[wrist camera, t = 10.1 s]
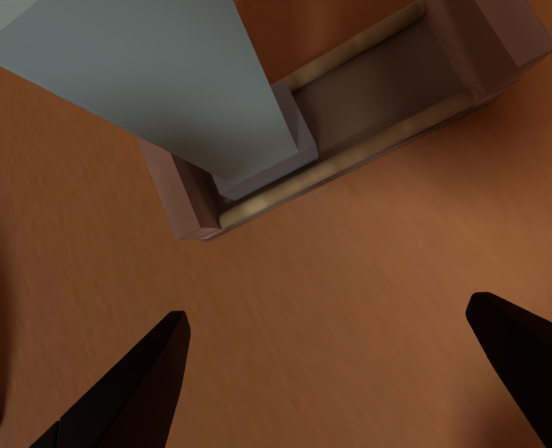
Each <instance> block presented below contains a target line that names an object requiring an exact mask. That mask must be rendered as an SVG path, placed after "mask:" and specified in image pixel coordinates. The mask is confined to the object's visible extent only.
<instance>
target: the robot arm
mask: <svg viewBox="0 0 552 448" xmlns="http://www.w3.org/2000/svg"><path fill="white" fill-rule="evenodd" d="M466 318H467V320H468V322H469V324H470V326H471V328H472V330H473V332H474V333H475V335H476V337H477V339H478V341H479V343H480V345H481V346H482V348H483V350H484V352H485V354H486V356H487V357H488V359H489V361H490V363H491V365H492V366H493V368H494V370H495V371H496V373H497V374H498V376H499V377H500V379H501V380H502V382H503V383H504V385H505V387H506V388H507V390H508V391H509V393H510V394H511V396H512V397H513V399H514V400H515V402H516V403H517V405H518V406H519V408H520V409H521V411H522V412H523V414H524V415H525V417H526V418H527V420H528V421H529V423H530V424H531V426H532V427H533V429H534V430H535V432H536V433H537V435H538V436H539V438H540V439H541V441H542V442H543V444H544V446H545V447H546V448H552V322H550V321H548V320H546V319H544V318H542V317H540V316H538V315H535V314H533V313H531V312H529V311H527V310H525V309H523V308H521V307H519V306H517V305H515V304H513V303H511V302H509V301H507V300H505V299H503V298H501V297H499V296H497V295H494V294H492V293H490V292H476V293H474V294H473V295H472V296H471V299H470V301H469V304H468V306H467V309H466ZM190 336H191V329H190V325H189V322H188V319H187V315H186V313H185V311H183V310H181V311H171V312H170V313H168V314H167V315H166V316H165V317H164V318H163V319H162V320H161V321H160V322H159V323H158V324H157V325H156V326H155V327H154V328H153V329H152V330H151V331H150V332H149V333H148V334H147V335H146V336H144V337H143V338H142V339H141V340H140V341H139V342H138V343H137V344H136V345H135V346H134V347H133V348H132V349H131V350H130V351H129V352H128V353H127V354H126V355H125V356H124V357H123V358H122V359H121V360H120V361H119V362H118V363H116V364H115V365H114V366H113V367H112V368H111V369H110V370H109V371H108V372H107V373H106V374H105V375H104V376H103V377H102V378H101V379H100V380H99V381H98V382H97V383H96V384H95V385H94V386H93V387H92V388H91V389H90V390H88V391H87V392H86V393H85V394H84V395H83V396H82V397H81V398H80V399H79V400H78V401H77V402H76V403H75V404H74V405H73V406H72V407H71V408H70V409H69V410H68V411H67V412H66V413H65V414H64V415H63V416H61V418H60V421H56V422H55V423H54V424H53V425H52V426H51V427H50V428H49V429H48V430H47V431H46V432H45V433H44V434H43V435H42V436H41V437H40V438H38V439H37V440H36V441H35V442H34V443H33V444H32V445H31V446H30V447H29V448H165V445H166V442H167V438H168V435H169V431H170V427H171V424H172V420H173V417H174V413H175V409H176V406H177V402H178V399H179V395H180V391H181V387H182V382H183V377H184V371H185V365H186V360H187V354H188V348H189V342H190Z"/></svg>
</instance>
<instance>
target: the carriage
mask: <svg viewBox="0 0 552 448" xmlns="http://www.w3.org/2000/svg"><path fill="white" fill-rule="evenodd" d="M0 66H1V67H3V68H5V69H7V70H9V71H11V72H13V73H15V74H17V75H19V76H21V77H23V78H25V79H27V80H29V81H31V82H32V83H34V84H36V85H38V86H40V87H42V88H44V89H46V90H48V91H50V92H52V93H54V94H56V95H58V96H60V97H62V98H64V99H66V100H68V101H70V102H72V103H74V104H76V105H78V106H80V107H82V108H84V109H86V110H87V111H89V112H91V113H93V114H95V115H97V116H99V117H101V118H103V119H105V120H107V121H109V122H111V123H113V124H115V125H117V126H119V127H121V128H123V129H125V130H127V131H129V132H131V133H133V134H135V135H137V136H139V137H141V138H142V139H144V140H146V141H148V142H150V143H152V144H154V145H156V146H158V147H160V148H162V149H164V150H166V151H168V152H170V153H172V154H174V155H176V156H178V157H180V158H182V159H184V160H186V161H188V162H190V163H192V164H194V165H196V166H198V167H199V168H201V169H203V170H205V171H207V172H209V173H211V174H212V177H213V179H214V182H215V184H216V186H217V189H218V191H219V193H220V195H222V196H225V197H228V198H230V199H233V200H238V199H240V198H242V197H244V196H246V195H248V194H250V193H252V192H254V191H256V190H258V189H260V188H262V187H264V186H266V185H268V184H270V183H272V182H273V181H275V180H277V179H279V178H281V177H283V176H285V175H287V174H289V173H291V172H293V171H295V170H297V169H299V168H301V167H303V166H305V165H307V164H309V163H311V162H313V161H314V160H316V159H318V158H319V155H318V150H317V145H316V143H315V141H314V139H313V137H312V135H311V133H310V131H309V129H308V127H307V125H306V123H305V121H304V118H303V116H302V114H301V112H300V110H299V108H298V106H297V104H296V102H295V100H294V98H293V96H292V94H291V92H290V90H289V88H288V86H287V84H286V82H285V80H284V79H282V80H281V81H279V82H277V83H275V84H274V85H272V86H270V85H269V83H268V80H267V78H266V76H265V73H264V71H263V69H262V66H261V64H260V62H259V60H258V57H257V55H256V53H255V50H254V48H253V46H252V43H251V41H250V39H249V36H248V34H247V32H246V30H245V27H244V25H243V23H242V20H241V18H240V16H239V13H238V11H237V9H236V6H235V4H234V2H233V0H0Z"/></svg>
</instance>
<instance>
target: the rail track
mask: <svg viewBox="0 0 552 448" xmlns="http://www.w3.org/2000/svg"><path fill="white" fill-rule="evenodd" d="M551 52H552V38H551V36H550V35H549V33H548V32H547V30H546V29H545V27H544V26H543V24H542V23H541V21H540V20H539V18H538V17H537V15H536V14H535V13H534V11H533V10H532V8H531V7H530V5H529V4H528V2H527V1H526V0H415V1H413V2H411V3H410V4H408V5H406V6H405V7H403V8H401V9H400V10H398V11H396V12H394V13H393V14H391V15H389V16H388V17H386V18H384V19H383V20H381V21H379V22H377V23H376V24H374V25H372V26H371V27H369V28H367V29H366V30H364V31H362V32H360V33H359V34H357V35H355V36H354V37H352V38H350V39H349V40H347V41H345V42H343V43H342V44H340V45H338V46H337V47H335V48H333V49H332V50H330V51H328V52H326V53H325V54H323V55H321V56H320V57H318V58H316V59H315V60H313V61H311V62H309V63H308V64H306V65H304V66H303V67H301V68H299V69H297V70H296V71H294V72H292V73H291V74H289V75H287V76H286V77H284V78H282V79H284V80H285V82H286V84H287V86H288V88H289V90H290V92H291V94H292V96H293V98H294V100H295V102H296V104H297V106H298V108H299V110H300V112H301V114H302V116H303V118H304V121H305V123H306V125H307V127H308V129H309V131H310V133H311V135H312V137H313V139H314V141H315V143H316V145H317V150H318V155H319V158H318V159H316V160H314V161H313V162H311V163H309V164H307V165H305V166H303V167H301V168H299V169H297V170H295V171H293V172H291V173H289V174H287V175H285V176H283V177H281V178H279V179H277V180H275V181H273V182H272V183H270V184H268V185H266V186H264V187H262V188H260V189H258V190H256V191H254V192H252V193H250V194H248V195H246V196H244V197H242V198H240V199H238V200H233V199H230V198H228V197H225V196H222V195H220V193H219V191H218V189H217V186H216V184H215V182H214V179H213V177H212V174H211V173H209V172H207V171H205V170H203V169H201V168H199V167H198V166H196V165H194V164H192V163H190V162H188V161H186V160H184V159H182V158H180V157H178V156H176V155H174V154H172V153H170V152H168V151H166V150H164V149H162V148H160V147H158V146H156V145H154V144H152V143H150V142H148V141H146V140H144V139H142V138H141V137H139V136H137V135H136V137H137V140H138V142H139V145H140V147H141V150H142V152H143V155H144V158H145V160H146V163H147V165H148V168H149V170H150V173H151V176H152V178H153V181H154V183H155V186H156V188H157V191H158V194H159V196H160V199H161V201H162V204H163V206H164V209H165V212H166V214H167V217H168V219H169V222H170V224H171V227H172V230H173V232H174V235H175V237H176V240H184V239H201V241H210V240H212V239H214V238H216V237H218V236H220V235H222V234H224V233H226V232H228V231H230V230H232V229H234V228H236V227H238V226H240V225H243V224H245V223H247V222H249V221H251V220H253V219H255V218H257V217H259V216H261V215H263V214H265V213H267V212H269V211H271V210H273V209H275V208H277V207H279V206H281V205H283V204H285V203H287V202H289V201H291V200H293V199H295V198H297V197H300V196H302V195H304V194H306V193H308V192H310V191H312V190H314V189H316V188H318V187H320V186H322V185H324V184H326V183H328V182H330V181H332V180H334V179H336V178H338V177H340V176H342V175H344V174H346V173H348V172H350V171H352V170H354V169H357V168H359V167H361V166H363V165H365V164H367V163H369V162H371V161H373V160H375V159H377V158H379V157H381V156H383V155H385V154H387V153H389V152H391V151H393V150H395V149H397V148H399V147H401V146H403V145H405V144H407V143H409V142H412V141H414V140H416V139H418V138H420V137H422V136H424V135H426V134H428V133H430V132H432V131H434V130H436V129H438V128H440V127H442V126H444V125H446V124H448V123H450V122H452V121H454V120H456V119H458V118H460V117H462V116H464V115H466V114H469V113H471V112H473V111H475V110H477V109H479V108H481V107H483V106H485V105H487V104H489V103H491V102H493V101H495V100H496V99H497V98H498V97H500V96H501V95H502V94H503V93H504V92H505V91H507V90H508V89H509V88H510V87H511V86H512V85H514V84H515V83H516V82H517V81H518V80H519V79H521V78H522V77H523V76H524V75H525V74H527V73H528V72H529V71H530V70H531V69H532V68H534V67H535V66H536V65H537V64H538V63H539V62H541V61H542V60H543V59H544V58H545V57H546V56H548V55H549V54H550V53H551ZM282 79H280V80H279V81H281V80H282ZM279 81H277V82H279ZM277 82H275V83H277ZM275 83H274V84H275ZM274 84H272V85H274ZM272 85H270V86H272Z"/></svg>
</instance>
